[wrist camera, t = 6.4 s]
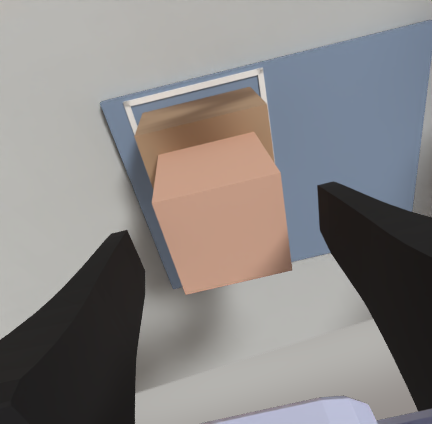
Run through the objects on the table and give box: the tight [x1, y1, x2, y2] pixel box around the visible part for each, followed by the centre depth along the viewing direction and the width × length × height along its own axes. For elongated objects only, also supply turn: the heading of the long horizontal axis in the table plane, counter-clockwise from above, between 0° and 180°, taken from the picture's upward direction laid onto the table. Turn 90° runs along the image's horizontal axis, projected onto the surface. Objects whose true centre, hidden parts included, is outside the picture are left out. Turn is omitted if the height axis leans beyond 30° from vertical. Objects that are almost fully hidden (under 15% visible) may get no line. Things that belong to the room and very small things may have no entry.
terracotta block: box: [152, 132, 292, 295], centre depth 14 cm, size 4×4×4 cm
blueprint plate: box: [100, 20, 432, 289], centre depth 21 cm, size 18×14×1 cm
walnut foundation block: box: [134, 87, 275, 190], centre depth 18 cm, size 6×6×4 cm
